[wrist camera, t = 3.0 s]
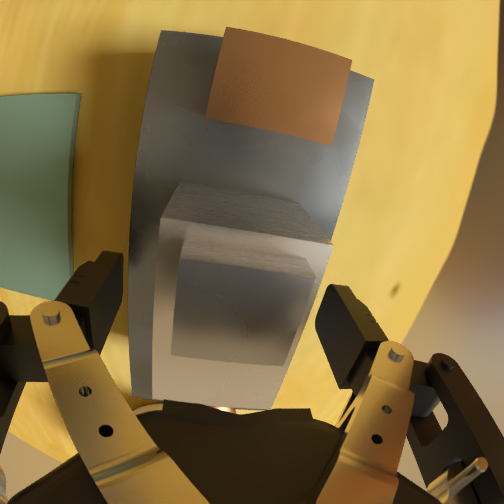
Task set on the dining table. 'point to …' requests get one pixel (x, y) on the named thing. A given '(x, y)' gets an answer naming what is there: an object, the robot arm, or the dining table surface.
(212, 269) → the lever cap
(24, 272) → the mat
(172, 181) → the plane body
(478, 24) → the dining table surface
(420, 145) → the dining table surface
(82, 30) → the dining table surface
